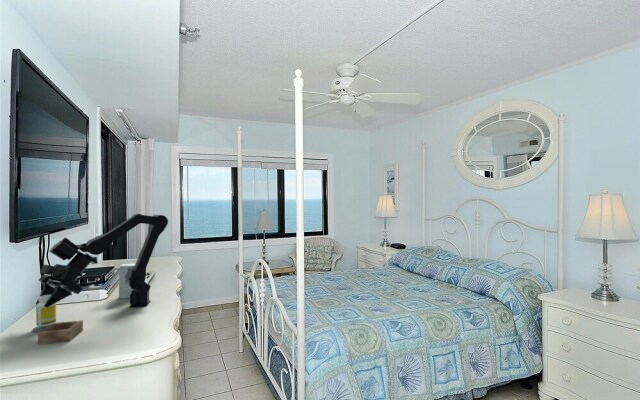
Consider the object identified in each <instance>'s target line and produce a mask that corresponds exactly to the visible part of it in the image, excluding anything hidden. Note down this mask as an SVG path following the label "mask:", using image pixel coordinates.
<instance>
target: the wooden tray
mask: <svg viewBox="0 0 640 400" xmlns="http://www.w3.org/2000/svg"><path fill="white" fill-rule="evenodd" d="M83 331H84V320H83V319H82V320H70V321H69V320H68V321H59V322H58V321H56V322H55V323H52V324H51V325H49V326H48V327H46V328H45V329H43V330H42V331H40V332H37V344H38V345H45V344H54V343H66V342H67V343H68V342H71V341H72V340H73V339H75V338H76V337H78V335H79V334H81V333H82V332H83Z"/></svg>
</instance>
